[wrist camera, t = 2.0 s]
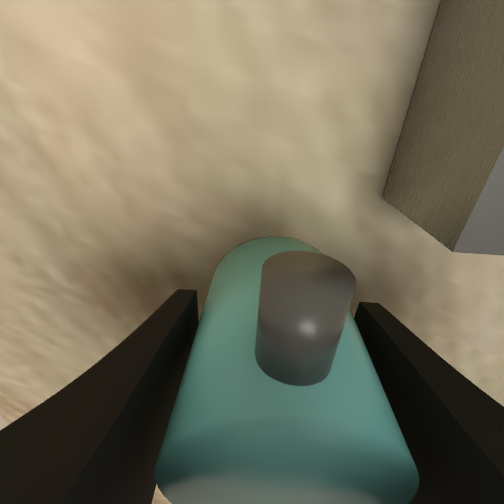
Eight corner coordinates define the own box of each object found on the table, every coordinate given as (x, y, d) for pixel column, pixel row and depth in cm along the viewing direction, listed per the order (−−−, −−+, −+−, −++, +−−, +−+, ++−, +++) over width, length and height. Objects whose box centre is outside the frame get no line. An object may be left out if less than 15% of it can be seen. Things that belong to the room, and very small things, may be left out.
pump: (324, 340, 11) (375, 543, 6) (212, 332, 11) (168, 526, 6) (363, 192, 8) (539, 347, 3) (209, 182, 8) (110, 316, 3)
